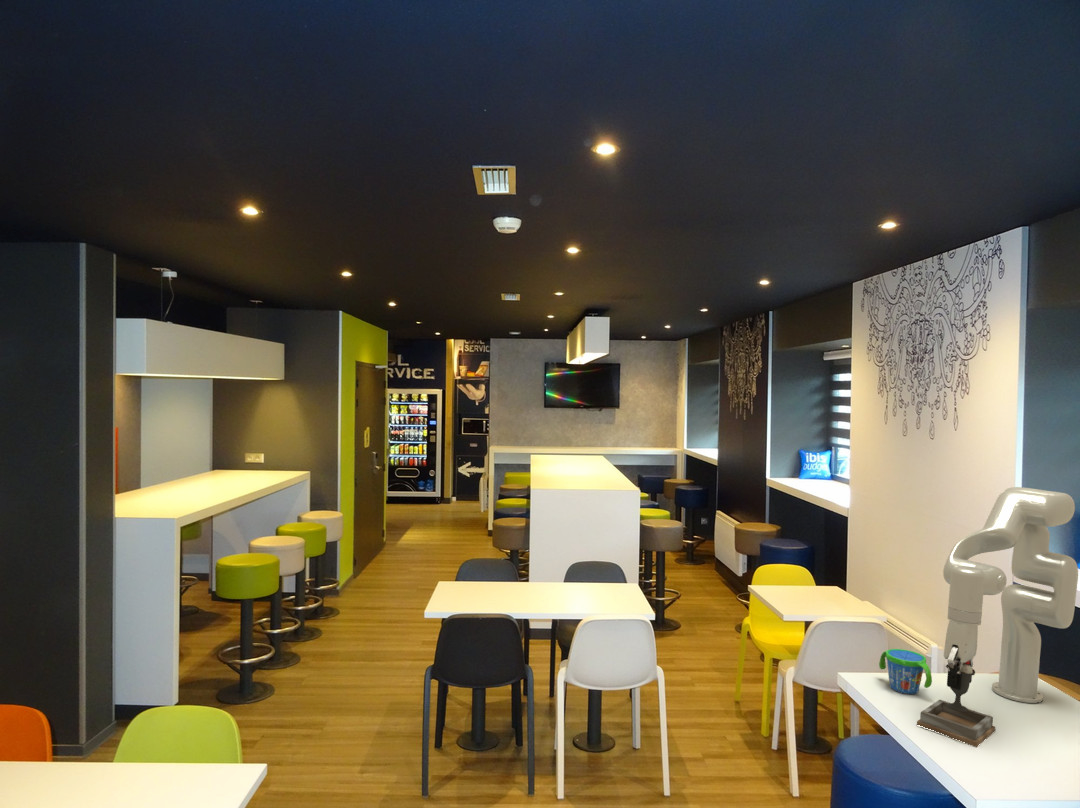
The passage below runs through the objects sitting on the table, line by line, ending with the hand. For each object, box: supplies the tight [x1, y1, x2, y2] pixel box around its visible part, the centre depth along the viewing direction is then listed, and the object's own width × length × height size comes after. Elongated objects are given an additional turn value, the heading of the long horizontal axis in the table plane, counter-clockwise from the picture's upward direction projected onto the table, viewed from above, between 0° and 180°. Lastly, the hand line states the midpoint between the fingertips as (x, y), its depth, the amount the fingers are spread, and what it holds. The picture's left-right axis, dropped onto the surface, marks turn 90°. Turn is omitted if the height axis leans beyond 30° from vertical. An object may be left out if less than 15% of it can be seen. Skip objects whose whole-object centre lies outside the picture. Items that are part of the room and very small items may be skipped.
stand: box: [916, 699, 997, 748], centre depth 195 cm, size 14×14×4 cm
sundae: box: [945, 658, 976, 712], centre depth 195 cm, size 7×7×15 cm
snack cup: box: [878, 648, 933, 695], centre depth 219 cm, size 16×10×10 cm
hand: (959, 683), depth 195 cm, fingers closed on sundae, 6 cm apart
